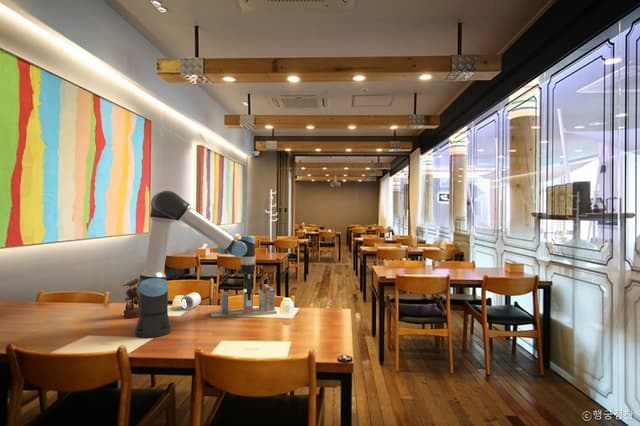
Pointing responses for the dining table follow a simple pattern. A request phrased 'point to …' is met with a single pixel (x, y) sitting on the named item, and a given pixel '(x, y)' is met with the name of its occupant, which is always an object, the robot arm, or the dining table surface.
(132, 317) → the music box
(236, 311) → the rail
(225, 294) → the bookend
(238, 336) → the dining table surface
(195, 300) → the mug
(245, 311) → the book
